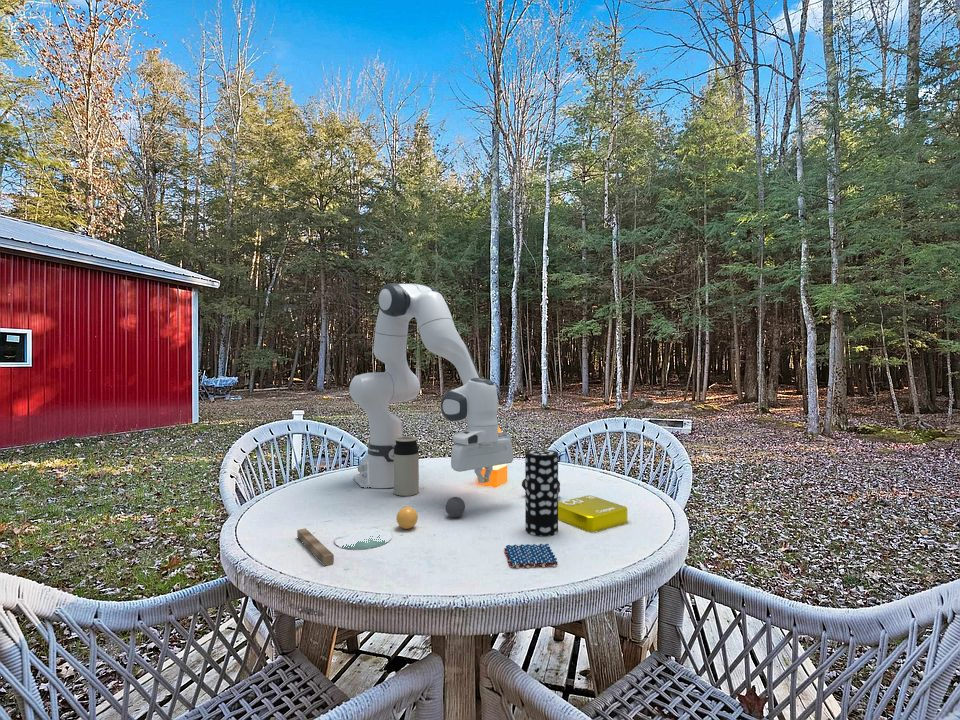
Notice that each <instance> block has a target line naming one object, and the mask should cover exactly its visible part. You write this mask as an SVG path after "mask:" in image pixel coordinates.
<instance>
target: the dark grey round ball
mask: <svg viewBox="0 0 960 720" xmlns="http://www.w3.org/2000/svg"><path fill="white" fill-rule="evenodd" d="M465 510H466V502H465V501H464V500H463V498H461V497H459V496H452V497H450V498H449V499H448V500H447V501H446V503H445V511H446V513H447V515H448V516H450V517H451V518H459V517H462V515H463V514H464V513H465Z"/></svg>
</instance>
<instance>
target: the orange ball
mask: <svg viewBox="0 0 960 720" xmlns="http://www.w3.org/2000/svg"><path fill="white" fill-rule="evenodd" d="M418 517H419V515H418V513H417V511H416V509H415V508H414V507H411V506H405V507H402V508H401V509H399V510H398V512H397V514H396V523H397V525H398V526H399V527H400V528H402V529H403V530H408V529H412V528H413V527H415V526H416V524H417V522H418Z"/></svg>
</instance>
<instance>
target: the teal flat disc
mask: <svg viewBox="0 0 960 720" xmlns="http://www.w3.org/2000/svg"><path fill="white" fill-rule="evenodd" d="M379 536H380V535H379ZM379 536H378V537H379ZM370 537H371V536H370ZM372 537H373V536H372ZM378 537H377V538H378ZM379 538H380V537H379ZM369 539H370V538H369ZM369 539H368V543H367V541H366V543H365V541H364V542H363V541H362V542H361V541H360V542H359V541H358V542H357V543H356V544H355V546H354V544H353V546H354V547H353V546H352V547H351V545H352V544H351V545H350V546H349V545H348V546H347V544H346V546H347V547H346V546H345V547H344V545H343V546H342V548H341V549H343V547H344V548H346V549H345V550H349V549H364V550H369V549H368V548H371V549H374V547H375V548H378V547H377V546H379V547H381V546H380V545H382V546H384V545H386V544H388V543H387V542H386V544H385V540H384V541H383V540H382V542H381V541H380V542H379V541H378V542H377V541H373V539H372V538H371V539H372V540H371V539H370V540H369ZM364 540H365V539H364ZM366 540H367V539H366ZM374 540H375V539H374ZM376 540H377V539H376ZM378 540H379V539H378ZM380 540H381V539H380ZM369 541H370V542H369ZM383 544H384V545H383ZM348 547H349V548H348Z"/></svg>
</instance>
